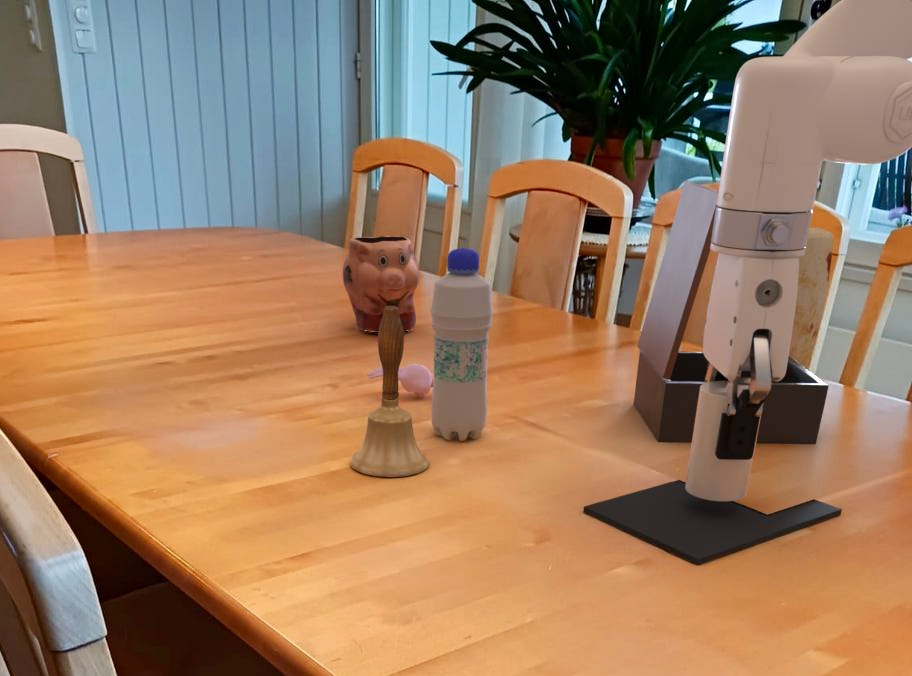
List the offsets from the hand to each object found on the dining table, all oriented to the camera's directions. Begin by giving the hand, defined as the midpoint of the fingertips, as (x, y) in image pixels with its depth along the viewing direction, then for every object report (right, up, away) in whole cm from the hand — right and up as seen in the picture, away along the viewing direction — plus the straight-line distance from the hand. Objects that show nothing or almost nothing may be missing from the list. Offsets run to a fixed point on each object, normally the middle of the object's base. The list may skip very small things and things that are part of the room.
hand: (723, 444), depth 88 cm
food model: (+19, +16, +43) cm, 50 cm away
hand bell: (-31, +1, +14) cm, 34 cm away
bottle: (-23, +6, +23) cm, 33 cm away
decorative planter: (-35, +33, +71) cm, 86 cm away
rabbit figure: (-27, +13, +37) cm, 47 cm away
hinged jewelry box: (+7, +7, +26) cm, 28 cm away
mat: (0, -6, +3) cm, 7 cm away
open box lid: (+1, +22, +18) cm, 28 cm away
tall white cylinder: (0, -4, +2) cm, 4 cm away
